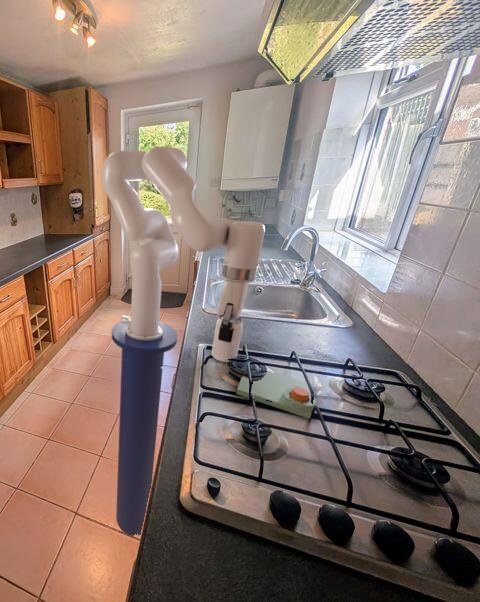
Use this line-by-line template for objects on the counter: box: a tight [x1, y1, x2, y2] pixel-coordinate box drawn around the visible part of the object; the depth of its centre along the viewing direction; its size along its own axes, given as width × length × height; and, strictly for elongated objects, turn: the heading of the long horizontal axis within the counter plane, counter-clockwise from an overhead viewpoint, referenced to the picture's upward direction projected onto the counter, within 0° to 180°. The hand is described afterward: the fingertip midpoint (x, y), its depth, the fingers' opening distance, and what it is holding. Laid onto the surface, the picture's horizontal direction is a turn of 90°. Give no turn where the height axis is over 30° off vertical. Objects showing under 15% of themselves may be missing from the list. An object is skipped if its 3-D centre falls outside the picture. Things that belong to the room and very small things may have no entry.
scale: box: [235, 370, 317, 420], centre depth 70 cm, size 14×12×3 cm
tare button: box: [291, 387, 309, 402], centre depth 64 cm, size 3×3×2 cm
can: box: [211, 314, 244, 364], centre depth 82 cm, size 6×6×12 cm
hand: (227, 334), depth 82 cm, fingers closed on can, 6 cm apart
